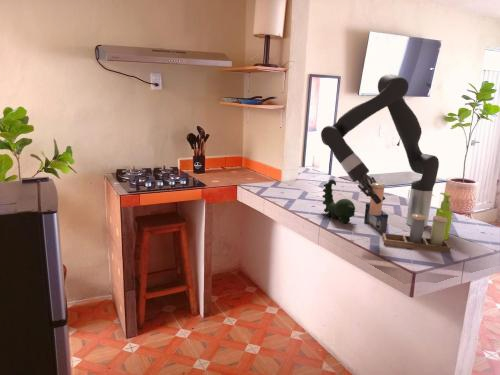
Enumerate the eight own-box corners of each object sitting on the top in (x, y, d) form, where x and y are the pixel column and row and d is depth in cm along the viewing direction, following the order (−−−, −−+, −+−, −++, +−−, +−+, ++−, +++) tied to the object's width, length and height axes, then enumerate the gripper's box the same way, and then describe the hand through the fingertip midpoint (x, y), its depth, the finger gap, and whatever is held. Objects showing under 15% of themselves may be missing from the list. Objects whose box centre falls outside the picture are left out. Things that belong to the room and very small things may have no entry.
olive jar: (427, 244, 151) (432, 215, 148) (440, 245, 150) (445, 216, 147) (430, 248, 146) (434, 218, 144) (443, 250, 145) (448, 220, 143)
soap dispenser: (441, 237, 164) (449, 192, 160) (450, 243, 158) (458, 196, 153) (428, 236, 164) (435, 191, 159) (436, 242, 157) (444, 195, 153)
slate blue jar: (407, 241, 153) (411, 213, 150) (420, 243, 152) (424, 214, 149) (409, 246, 148) (413, 216, 146) (422, 247, 147) (426, 218, 144)
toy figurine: (317, 215, 194) (344, 227, 170) (318, 178, 191) (346, 185, 168) (333, 214, 197) (362, 225, 173) (334, 177, 194) (364, 184, 171)
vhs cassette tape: (363, 223, 179) (365, 202, 177) (369, 223, 180) (372, 202, 177) (379, 237, 162) (381, 214, 159) (385, 237, 162) (388, 214, 160)
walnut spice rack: (381, 240, 157) (382, 232, 156) (444, 248, 152) (445, 240, 151) (383, 248, 149) (384, 239, 148) (449, 256, 144) (450, 247, 143)
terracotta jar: (368, 211, 155) (371, 182, 152) (380, 212, 154) (384, 183, 151) (368, 214, 151) (372, 185, 148) (381, 215, 149) (385, 186, 147)
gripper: (355, 164, 146) (384, 200, 142) (367, 159, 157) (394, 192, 154) (341, 175, 150) (368, 211, 146) (353, 170, 161) (379, 203, 158)
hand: (381, 201), depth 150 cm, fingers closed on terracotta jar, 4 cm apart
